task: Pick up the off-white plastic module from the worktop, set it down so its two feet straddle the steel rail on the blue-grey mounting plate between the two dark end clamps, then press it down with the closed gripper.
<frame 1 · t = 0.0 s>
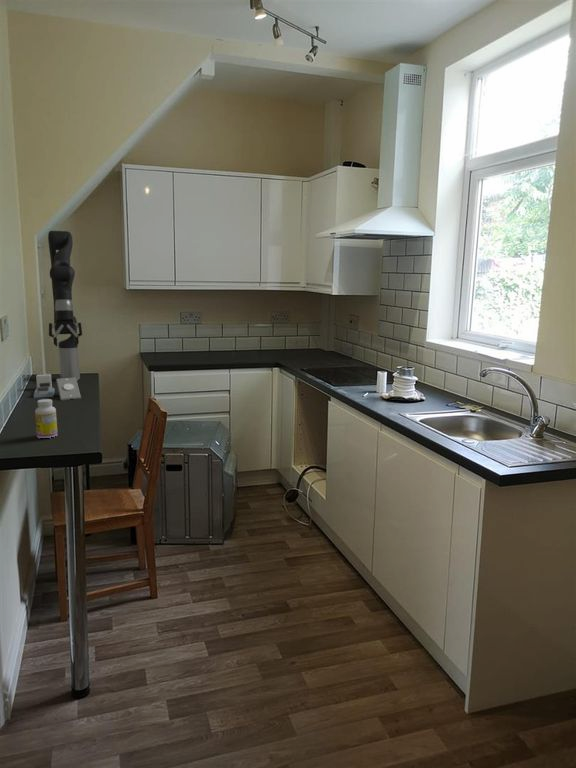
hand: (66, 345, 272), 22 cm above the counter, tool pointing down, fingers open, 8 cm apart
din rail: (44, 388, 274), on the mounting plate, point 3 cm above the counter
light switch: (69, 397, 269), on the counter
mounting plate: (44, 394, 274), on the counter
supplement bottle: (47, 437, 205), on the counter
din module: (44, 389, 285), on the counter
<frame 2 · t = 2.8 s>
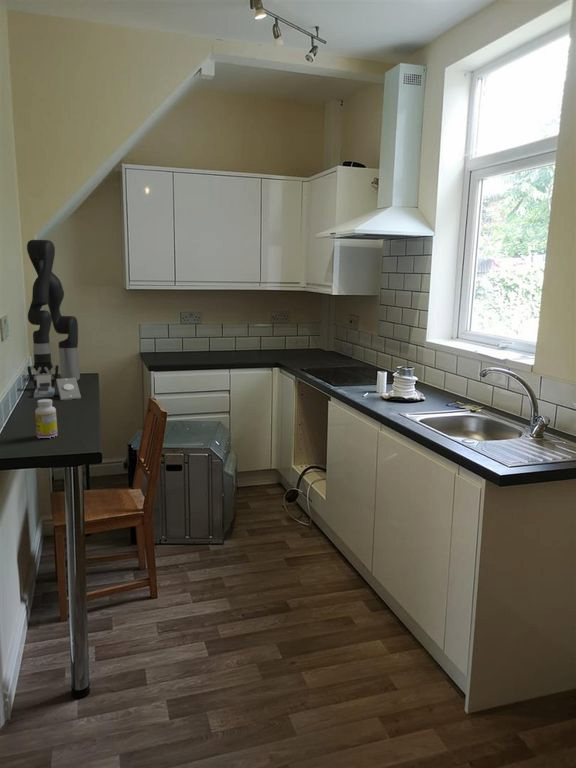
hand: (44, 387, 285), 1 cm above the counter, tool pointing down, fingers closed on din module, 6 cm apart
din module: (44, 389, 285), on the counter, touching gripper
everything else where it was.
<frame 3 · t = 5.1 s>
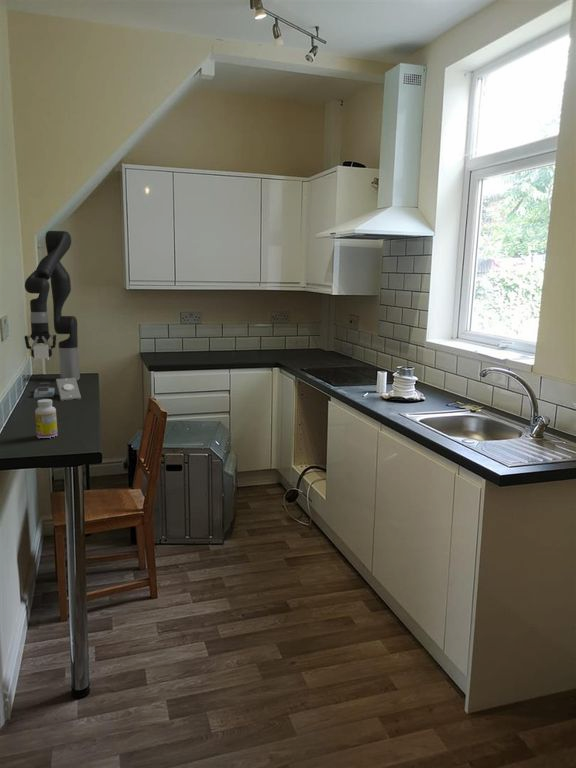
hand: (41, 357, 279), 16 cm above the counter, tool pointing down, fingers closed on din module, 6 cm apart
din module: (42, 359, 279), point 15 cm above the counter, touching gripper
everything else where it was.
when the fingers open (4 cm above the counter, at t = 7.7 s): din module stays where it is, resting on din rail.
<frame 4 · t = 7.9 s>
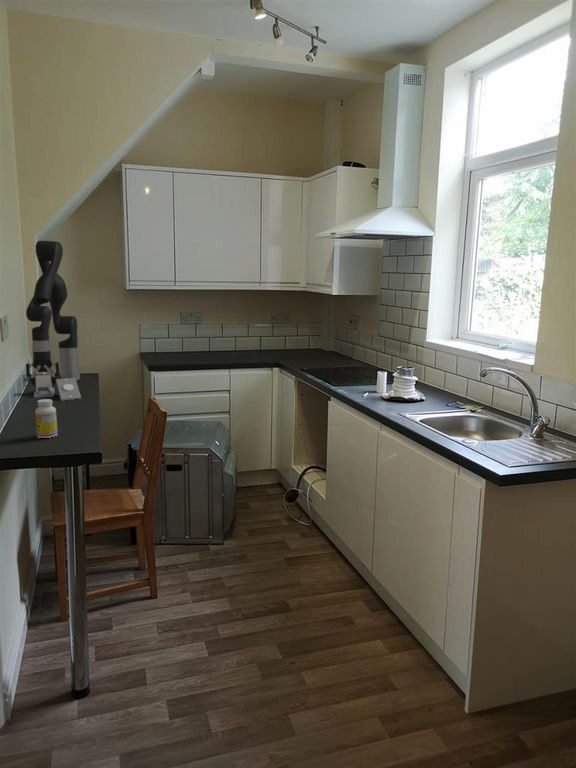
hand: (43, 385, 274), 4 cm above the counter, tool pointing down, fingers open, 8 cm apart
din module: (44, 390, 274), point 2 cm above the counter, touching din rail
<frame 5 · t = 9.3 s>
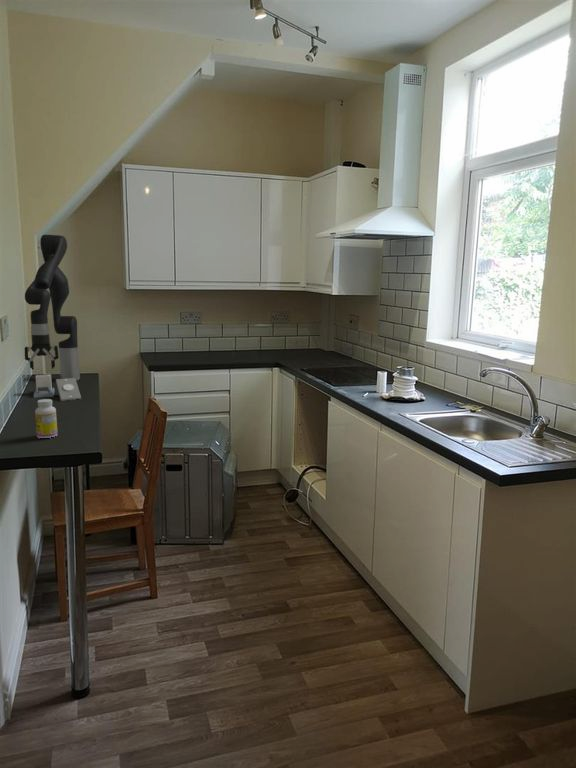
hand: (42, 368, 272), 12 cm above the counter, tool pointing down, fingers open, 8 cm apart
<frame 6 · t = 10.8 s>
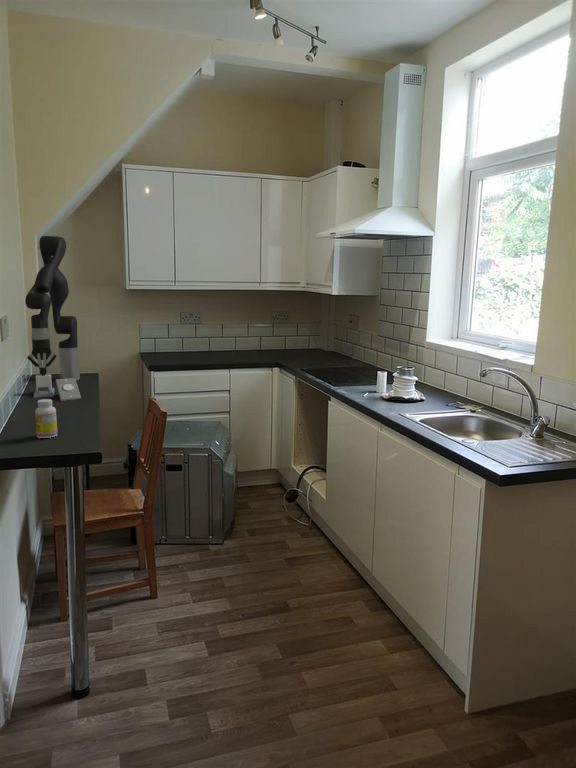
hand: (43, 375, 273), 9 cm above the counter, tool pointing down, fingers closed
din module: (44, 390, 274), point 2 cm above the counter, touching din rail, gripper
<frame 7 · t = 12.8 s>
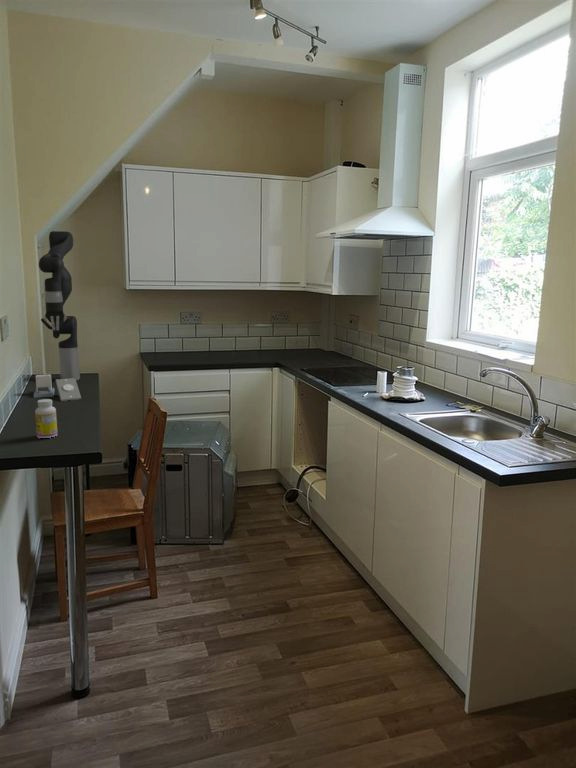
hand: (56, 338, 279), 25 cm above the counter, tool pointing down, fingers closed
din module: (44, 390, 274), point 2 cm above the counter, touching din rail
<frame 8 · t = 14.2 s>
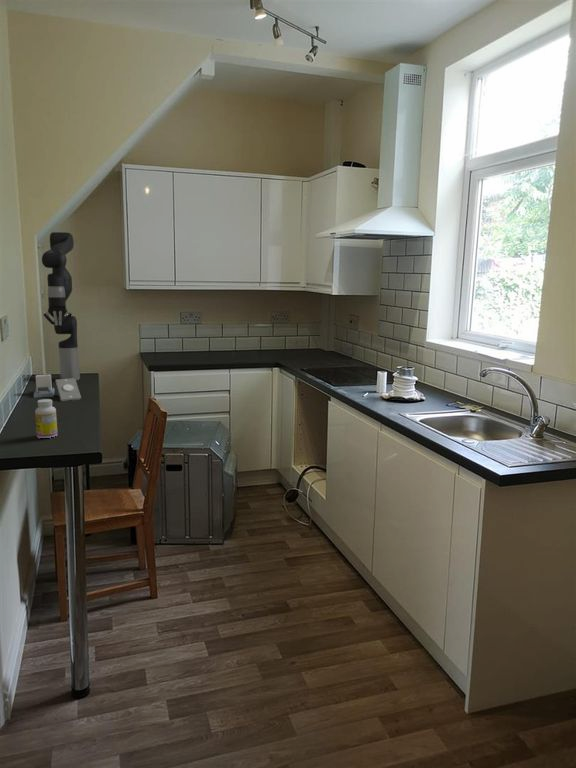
hand: (59, 333, 281), 27 cm above the counter, tool pointing down, fingers closed
at the end: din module 0.1 cm off-centre on the din rail, point 1.7 cm above the din rail's base; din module tilted 0°; the gripper is holding nothing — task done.
